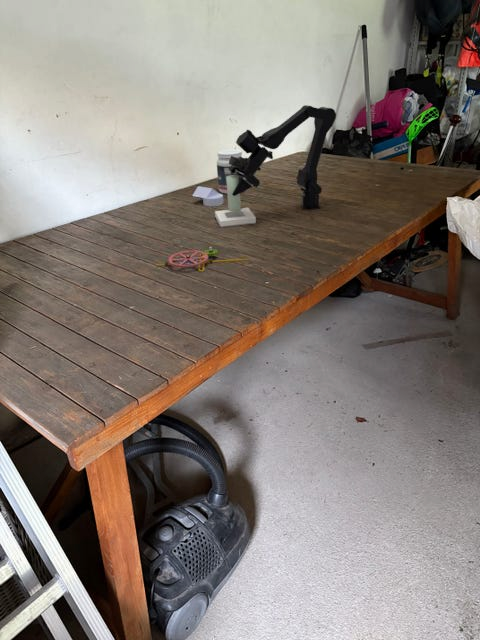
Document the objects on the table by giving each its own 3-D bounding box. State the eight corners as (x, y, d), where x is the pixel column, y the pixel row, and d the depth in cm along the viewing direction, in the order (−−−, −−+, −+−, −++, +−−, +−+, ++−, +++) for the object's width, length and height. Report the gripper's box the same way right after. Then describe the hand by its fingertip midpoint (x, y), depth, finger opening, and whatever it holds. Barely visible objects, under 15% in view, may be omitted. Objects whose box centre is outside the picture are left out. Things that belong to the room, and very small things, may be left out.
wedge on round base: (192, 203, 227) (214, 207, 220) (191, 188, 224) (213, 192, 217) (205, 198, 233) (227, 202, 226) (204, 183, 230) (226, 187, 223)
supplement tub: (217, 188, 248) (214, 150, 239) (243, 186, 248) (241, 148, 240) (219, 195, 236) (216, 155, 227) (246, 193, 237) (245, 153, 228)
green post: (242, 207, 202) (240, 175, 196) (239, 211, 198) (237, 178, 191) (230, 207, 203) (228, 175, 197) (227, 211, 199) (224, 178, 193)
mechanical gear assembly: (158, 258, 171) (154, 278, 158) (156, 247, 169) (152, 266, 156) (245, 252, 172) (249, 271, 159) (245, 241, 170) (248, 259, 157)
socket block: (248, 213, 210) (248, 207, 208) (255, 223, 197) (255, 217, 196) (215, 216, 207) (214, 211, 206) (220, 227, 195) (220, 221, 194)
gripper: (231, 144, 198) (207, 176, 200) (250, 151, 183) (224, 186, 185) (250, 161, 204) (227, 193, 206) (270, 170, 189) (245, 204, 191)
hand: (230, 193), depth 197 cm, fingers closed on green post, 5 cm apart
